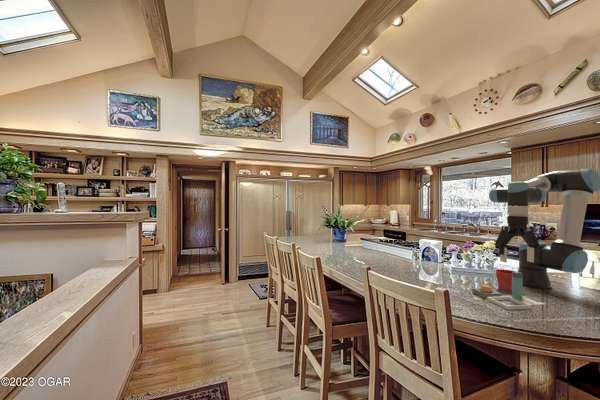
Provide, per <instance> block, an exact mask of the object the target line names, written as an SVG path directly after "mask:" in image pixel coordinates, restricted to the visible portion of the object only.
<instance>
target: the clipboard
mask: <svg viewBox="0 0 600 400" xmlns="http://www.w3.org/2000/svg"><path fill="white" fill-rule="evenodd" d="M501 296H510V297H512V294H501ZM519 301H522V302H524V303H527V304H529V305H532V306H533V305H534V306H535V305H536V306H537V305H546V303H545V302H543V301H542V300H541V299H538V298H535V297H534V296H533V297H532V296H530V295H523V294H522V300H519Z"/></svg>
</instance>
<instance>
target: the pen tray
mask: <svg viewBox="0 0 600 400" xmlns="http://www.w3.org/2000/svg"><path fill="white" fill-rule="evenodd" d="M486 300H487V301H489V302H490V303H493V304H494V305H497V306H498V307H502V308H503V309H505V310H508V311H509V310H510V311H511V310H512V311H513V310H532V306H533V305H529V304H527V303H524V302H522V301H519V300H517V299H515V298H512V297H510V296H502V295H501V297H487V299H486ZM501 301H510V302H512V303H514V304H509V305H508V304H506V303H503V302H501Z"/></svg>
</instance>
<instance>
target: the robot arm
mask: <svg viewBox="0 0 600 400" xmlns="http://www.w3.org/2000/svg"><path fill="white" fill-rule="evenodd" d="M599 191H600V174H599V172H598V171H597V170H595V169H593V168H577V169H567V170H556V171H551V172H548V173H544V174H541V175H537V176H535V177H532V179H530V180H527V181H512V182H509V183H508V184H507V186H505V187H501V188H499V187H498V188H492V189H490V191H489V193H488V197H489V200H490V202H492V203H494V204H495V203H497V204H500V203H501V204H502V203H505V204H507V207H506V208H507V209H506V210H507V212H506V214H507V216H506V217H507V218H506V220H507V221H506V222H507V224H508V225H501V230H500V232H499V234H498V237H497V238H496V239H495V242H494V246H496V247H498V249H499V251H498V254H499V262H502V263H508V262H507V260H508V259H507V257H508V248H507V245H508V244H509V243H510V242H511V241H512V239H513V238H514V237H521V238H522V239H523V241H524V242H522V243H520V244H519V245H518V246H519V248H518V261H519V262H518V270H517V272H521V273H523V286H525V287H528V288H536V289H551V288H552V282H551V279H550V277H549V274H548V270H549V269H550V270H554V271H559V272H560V271H561V272H563V273H570V274H579V273H581V272H583V271H584V270H585V268H586V267H587V265H588V262H589V257H588V256H589V255H588V253H587V252H586V251H585V250H584V247H583V246H582V245H581V244H580V243H581V239H582V233H583V228H584V227H583V226H584V222H585V216H586V213H587V206H588V200H589V199H590V198H591V197H594V192H599ZM553 192H554V193H560V194H561V195H562V196H563V203H562V207H561V212H560V218H559V223H558V230H557V235H556V238H555V240H553V241H551V243H550V245H548V243H547V242H539V241H538V238H537V236H536V234H535V230H534V226H531V225H528V224H529V217H528V215H529V204H540V203H542V202H544V201H545V200H546V199H547V193H553ZM547 269H548V270H547Z"/></svg>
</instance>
